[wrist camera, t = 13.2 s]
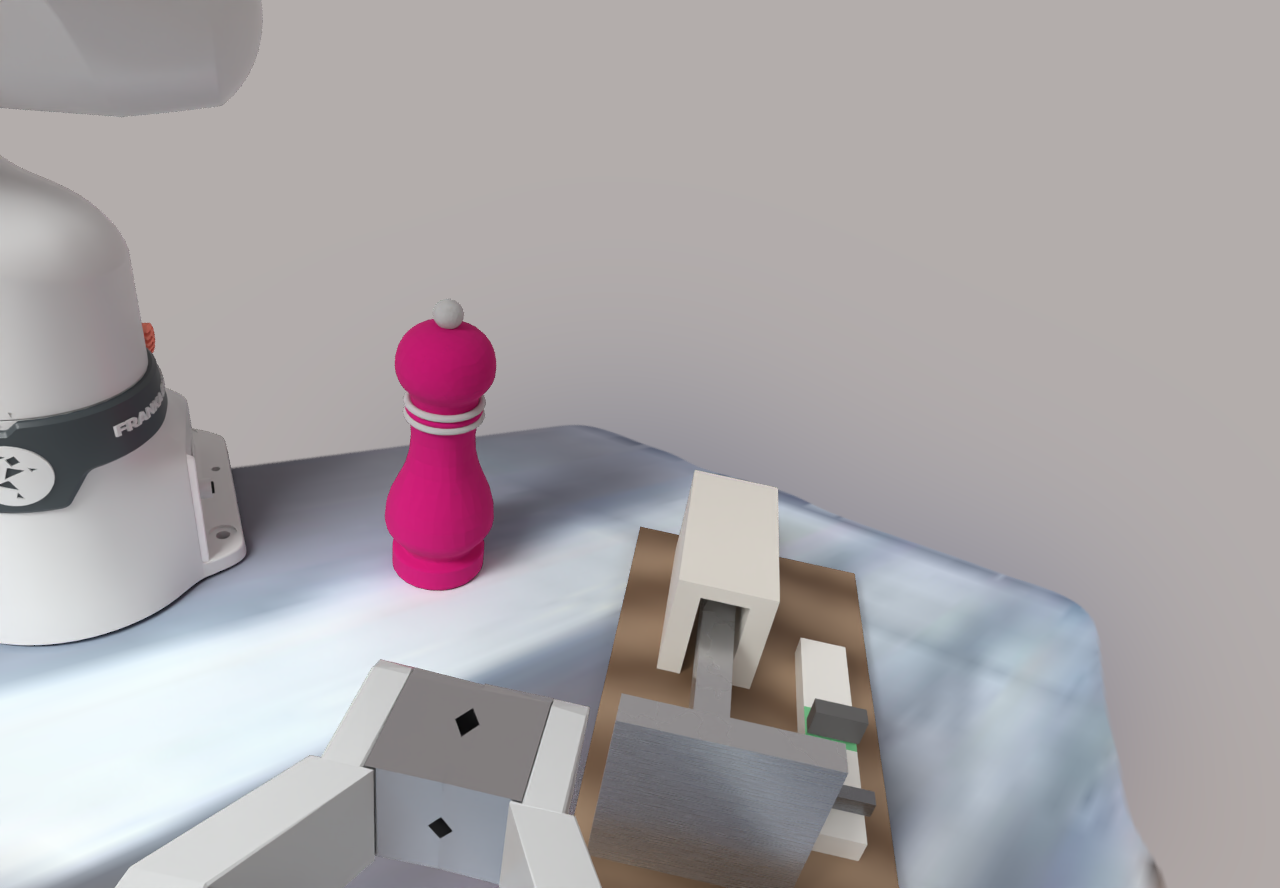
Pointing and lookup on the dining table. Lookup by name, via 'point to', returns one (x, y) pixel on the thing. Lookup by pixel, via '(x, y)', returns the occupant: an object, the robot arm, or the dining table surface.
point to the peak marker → (837, 721)
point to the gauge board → (741, 699)
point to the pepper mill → (442, 452)
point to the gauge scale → (828, 680)
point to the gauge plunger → (716, 782)
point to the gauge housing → (725, 568)
